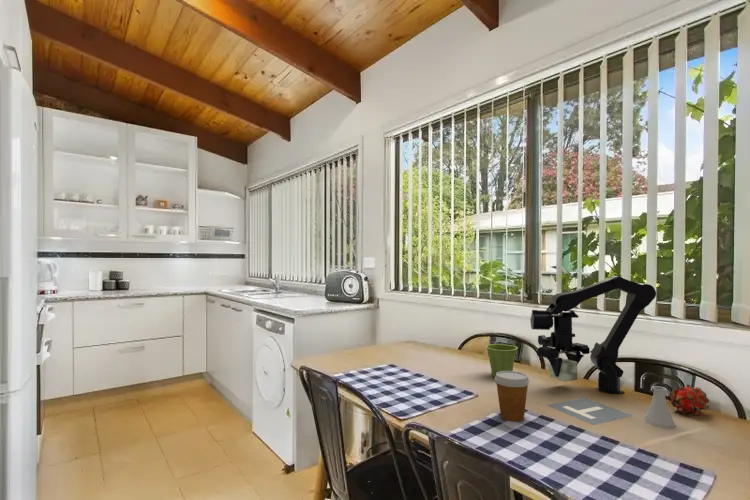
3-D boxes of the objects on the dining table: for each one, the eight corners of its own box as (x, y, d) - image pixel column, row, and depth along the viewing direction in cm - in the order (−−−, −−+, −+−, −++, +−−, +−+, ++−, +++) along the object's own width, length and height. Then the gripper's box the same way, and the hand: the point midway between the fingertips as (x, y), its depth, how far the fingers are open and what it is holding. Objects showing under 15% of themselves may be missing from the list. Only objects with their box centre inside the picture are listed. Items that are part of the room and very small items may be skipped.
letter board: (584, 399, 129) (584, 397, 129) (633, 417, 115) (633, 415, 115) (546, 407, 123) (546, 404, 123) (593, 427, 109) (593, 424, 109)
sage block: (563, 375, 144) (562, 358, 144) (577, 379, 138) (577, 361, 138) (550, 377, 141) (550, 359, 141) (564, 381, 136) (564, 363, 136)
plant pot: (521, 374, 157) (520, 345, 157) (513, 382, 147) (513, 351, 147) (490, 370, 164) (490, 342, 164) (481, 377, 154) (481, 348, 154)
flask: (682, 431, 106) (681, 392, 106) (651, 429, 107) (650, 391, 107) (668, 420, 113) (667, 384, 113) (639, 418, 114) (638, 383, 114)
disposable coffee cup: (490, 411, 120) (489, 370, 120) (521, 410, 121) (520, 369, 121) (502, 424, 111) (502, 380, 111) (536, 423, 111) (535, 379, 112)
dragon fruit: (708, 416, 119) (678, 427, 116) (682, 392, 126) (653, 402, 122) (724, 399, 114) (693, 410, 111) (696, 375, 121) (666, 385, 117)
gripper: (564, 324, 151) (564, 366, 151) (525, 328, 144) (525, 372, 143) (590, 329, 141) (591, 374, 140) (549, 333, 133) (550, 381, 133)
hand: (563, 375), depth 140 cm, fingers closed on sage block, 6 cm apart
